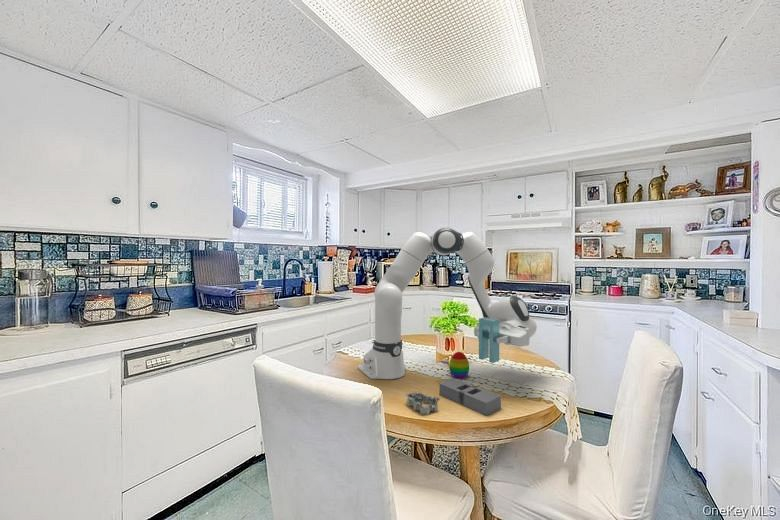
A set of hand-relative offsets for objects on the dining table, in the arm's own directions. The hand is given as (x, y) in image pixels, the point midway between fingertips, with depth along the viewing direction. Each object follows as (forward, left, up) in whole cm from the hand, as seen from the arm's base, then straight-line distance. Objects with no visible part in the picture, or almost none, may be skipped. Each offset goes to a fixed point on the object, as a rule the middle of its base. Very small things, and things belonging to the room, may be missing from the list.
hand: (487, 338), depth 120 cm
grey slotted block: (0, -11, -20) cm, 23 cm away
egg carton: (-7, -26, -20) cm, 34 cm away
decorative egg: (-17, +4, -20) cm, 27 cm away
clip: (0, +1, -8) cm, 8 cm away
